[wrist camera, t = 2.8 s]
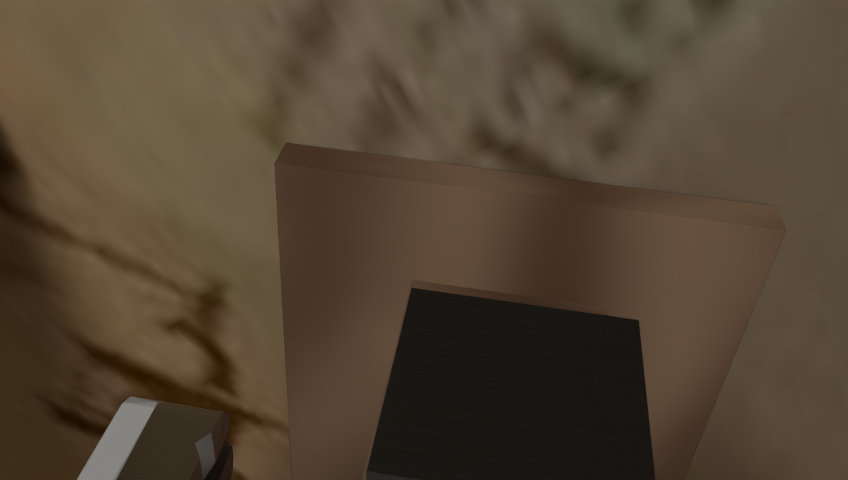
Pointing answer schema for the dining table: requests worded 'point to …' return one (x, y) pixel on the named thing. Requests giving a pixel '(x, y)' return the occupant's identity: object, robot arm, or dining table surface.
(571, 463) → the shaft
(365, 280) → the stand
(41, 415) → the dining table surface
